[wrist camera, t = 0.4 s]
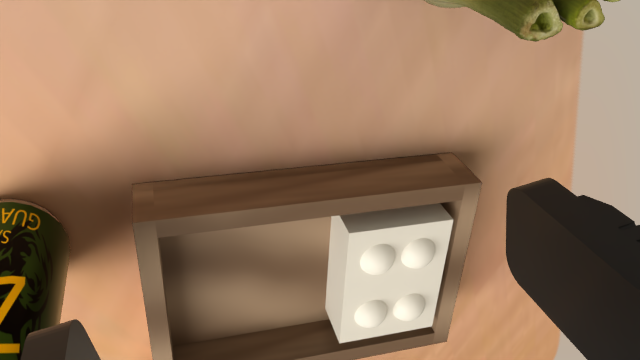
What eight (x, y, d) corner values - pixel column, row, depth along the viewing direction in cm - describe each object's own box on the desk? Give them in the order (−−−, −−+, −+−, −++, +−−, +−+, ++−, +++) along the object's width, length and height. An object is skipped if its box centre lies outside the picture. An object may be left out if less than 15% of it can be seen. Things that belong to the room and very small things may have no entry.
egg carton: (332, 202, 32) (353, 241, 29) (429, 191, 33) (459, 226, 30) (325, 308, 36) (343, 352, 33) (412, 293, 37) (437, 334, 34)
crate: (132, 184, 29) (132, 223, 26) (452, 152, 33) (482, 182, 31) (156, 351, 35) (158, 397, 32) (423, 304, 40) (446, 341, 37)
